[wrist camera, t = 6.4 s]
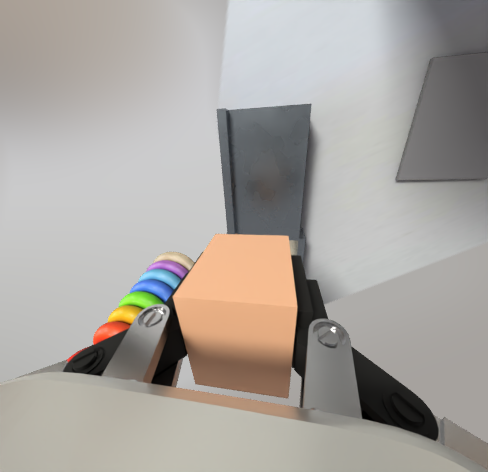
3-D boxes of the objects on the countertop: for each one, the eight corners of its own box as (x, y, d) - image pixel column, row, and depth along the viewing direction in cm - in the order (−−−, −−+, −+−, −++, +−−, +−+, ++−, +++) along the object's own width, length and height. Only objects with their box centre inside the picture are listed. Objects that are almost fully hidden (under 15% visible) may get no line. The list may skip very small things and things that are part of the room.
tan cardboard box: (215, 233, 11) (172, 296, 6) (288, 235, 10) (297, 307, 6) (223, 301, 13) (195, 384, 8) (284, 306, 12) (288, 398, 8)
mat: (430, 59, 16) (434, 57, 16) (546, 47, 15) (552, 45, 15) (395, 179, 21) (397, 180, 20) (483, 178, 19) (487, 178, 19)
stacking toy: (208, 262, 30) (120, 417, 13) (194, 296, 33) (112, 450, 17) (161, 241, 29) (8, 372, 13) (152, 278, 33) (24, 416, 16)
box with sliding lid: (221, 116, 21) (207, 109, 17) (314, 109, 19) (324, 100, 15) (234, 278, 30) (227, 299, 26) (297, 282, 29) (300, 305, 25)
